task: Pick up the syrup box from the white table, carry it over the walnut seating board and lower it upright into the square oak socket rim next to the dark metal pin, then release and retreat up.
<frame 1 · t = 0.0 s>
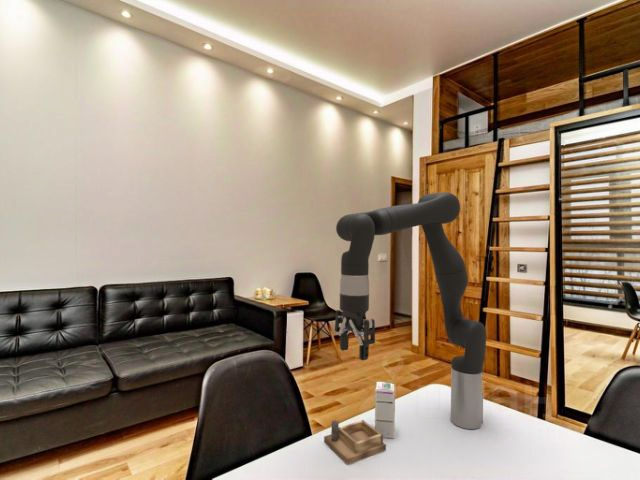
hand: (353, 354, 93), 29 cm above the table, fingers open, 8 cm apart
syrup box: (384, 433, 110), on the table
seating board: (354, 445, 103), on the table
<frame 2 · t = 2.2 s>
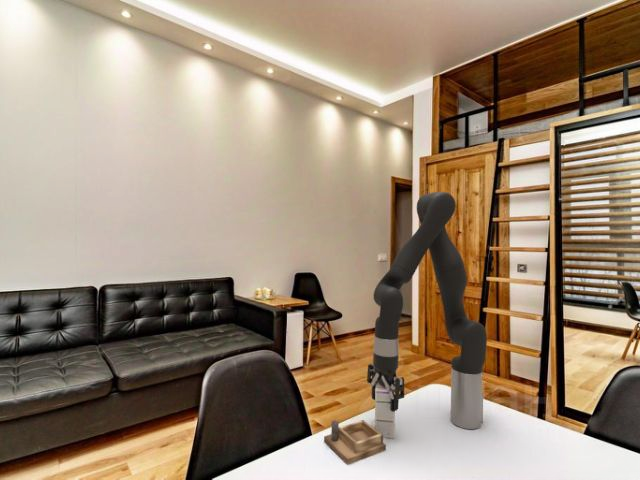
hand: (384, 404, 110), 9 cm above the table, fingers open, 8 cm apart
nothing on the table moved.
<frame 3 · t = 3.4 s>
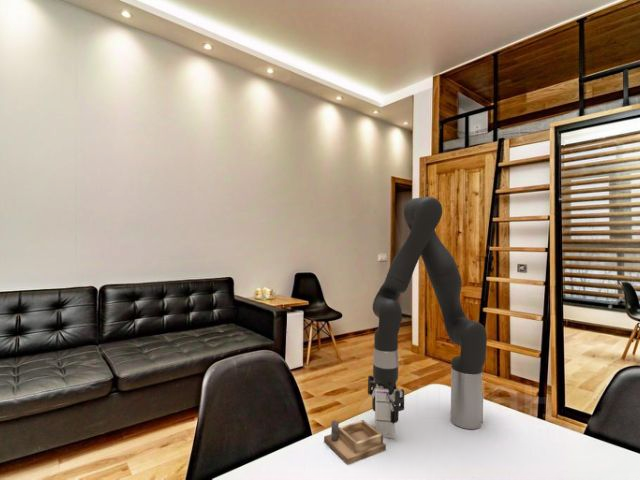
hand: (384, 416, 110), 5 cm above the table, fingers closed on syrup box, 8 cm apart
syrup box: (384, 433, 110), on the table, touching gripper
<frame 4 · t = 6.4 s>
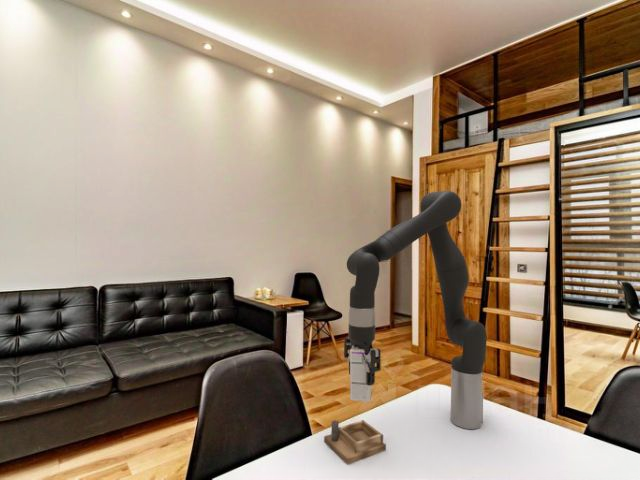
hand: (361, 379, 103), 19 cm above the table, fingers closed on syrup box, 8 cm apart
syrup box: (360, 397, 103), point 14 cm above the table, touching gripper
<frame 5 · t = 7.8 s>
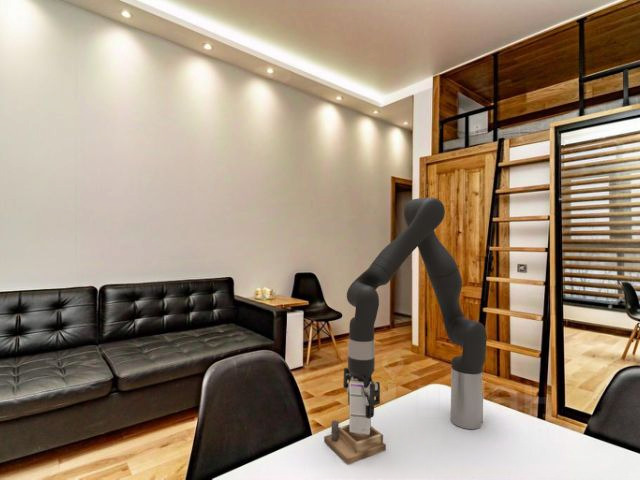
hand: (360, 410, 103), 10 cm above the table, fingers closed on syrup box, 8 cm apart
syrup box: (360, 429, 103), point 5 cm above the table, touching gripper
when the fingers open (9 cm above the table, at t = 9.3 s): syrup box stays where it is, resting on seating board.
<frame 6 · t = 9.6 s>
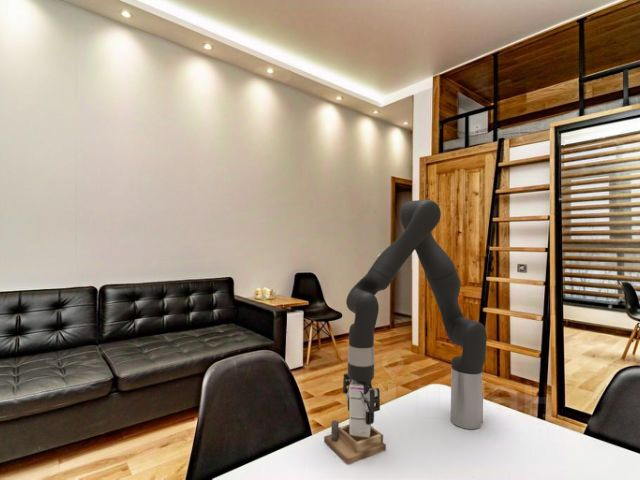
hand: (360, 416, 103), 8 cm above the table, fingers open, 8 cm apart
syrup box: (360, 432, 103), point 4 cm above the table, touching seating board
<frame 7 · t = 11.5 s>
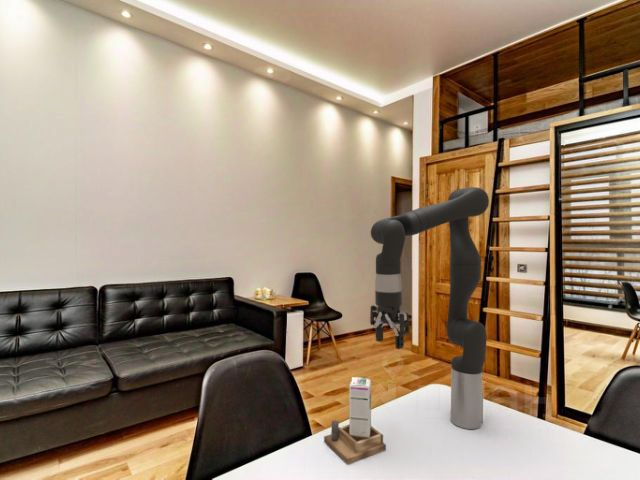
hand: (389, 344, 105), 28 cm above the table, fingers open, 8 cm apart
nothing on the table moved.
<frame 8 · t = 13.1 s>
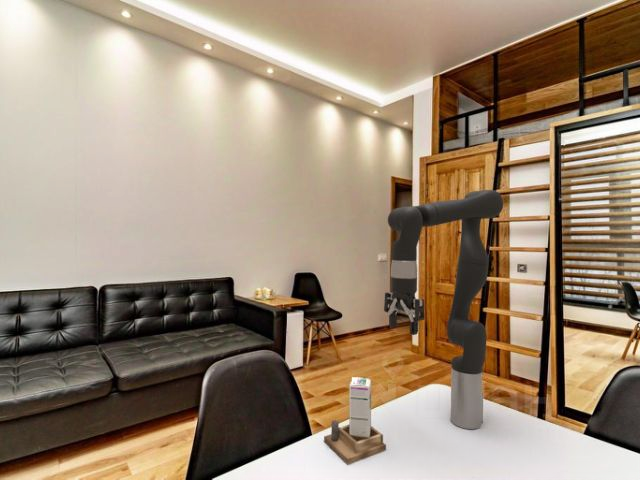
hand: (402, 330, 106), 32 cm above the table, fingers open, 8 cm apart
nothing on the table moved.
at the end: syrup box 0.1 cm from the target spot on the seating board, point 3.8 cm above the seating board's base; syrup box tilted 0°; the gripper is holding nothing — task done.
